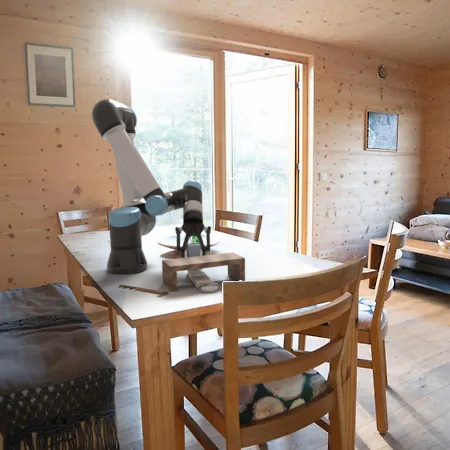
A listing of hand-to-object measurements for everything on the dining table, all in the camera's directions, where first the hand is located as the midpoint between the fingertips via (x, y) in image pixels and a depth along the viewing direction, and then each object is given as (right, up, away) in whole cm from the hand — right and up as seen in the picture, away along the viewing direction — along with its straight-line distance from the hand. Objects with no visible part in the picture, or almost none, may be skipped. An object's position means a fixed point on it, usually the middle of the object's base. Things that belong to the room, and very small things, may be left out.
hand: (193, 267), depth 147 cm
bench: (+4, -4, -5) cm, 8 cm away
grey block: (+2, -4, -2) cm, 5 cm away
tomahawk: (-15, -7, -14) cm, 21 cm away
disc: (+6, -6, -13) cm, 16 cm away
